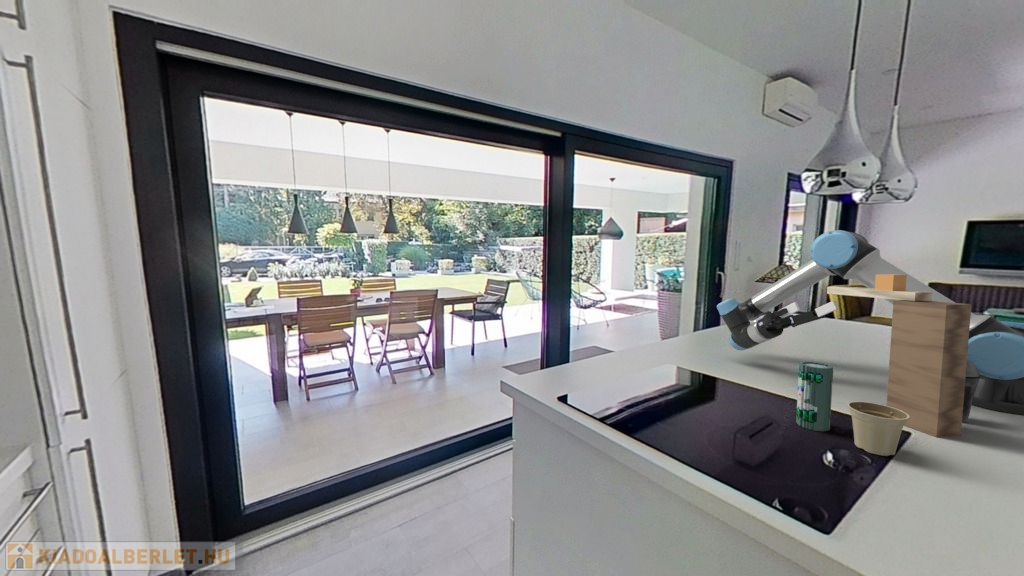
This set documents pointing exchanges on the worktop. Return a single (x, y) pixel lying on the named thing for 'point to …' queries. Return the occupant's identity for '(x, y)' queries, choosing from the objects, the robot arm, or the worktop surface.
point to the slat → (881, 293)
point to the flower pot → (877, 427)
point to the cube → (890, 282)
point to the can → (814, 396)
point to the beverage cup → (969, 389)
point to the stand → (929, 364)
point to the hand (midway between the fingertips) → (816, 305)
